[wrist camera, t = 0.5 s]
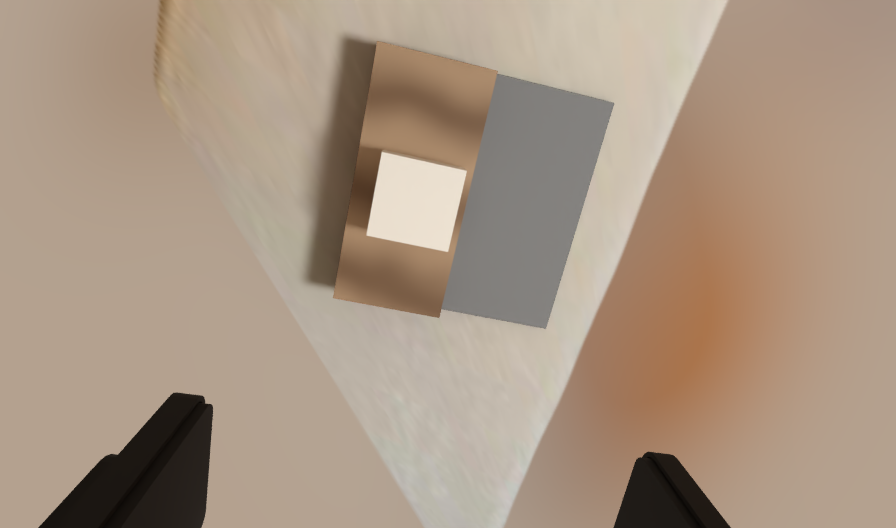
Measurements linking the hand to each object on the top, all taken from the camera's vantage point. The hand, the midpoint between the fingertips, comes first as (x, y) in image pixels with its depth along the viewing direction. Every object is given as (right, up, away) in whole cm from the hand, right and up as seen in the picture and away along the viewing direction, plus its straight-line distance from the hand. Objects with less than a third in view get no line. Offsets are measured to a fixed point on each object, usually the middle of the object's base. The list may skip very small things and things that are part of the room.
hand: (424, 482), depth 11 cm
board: (-2, +11, +29) cm, 31 cm away
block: (-2, +10, +27) cm, 28 cm away
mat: (+7, +9, +30) cm, 32 cm away
